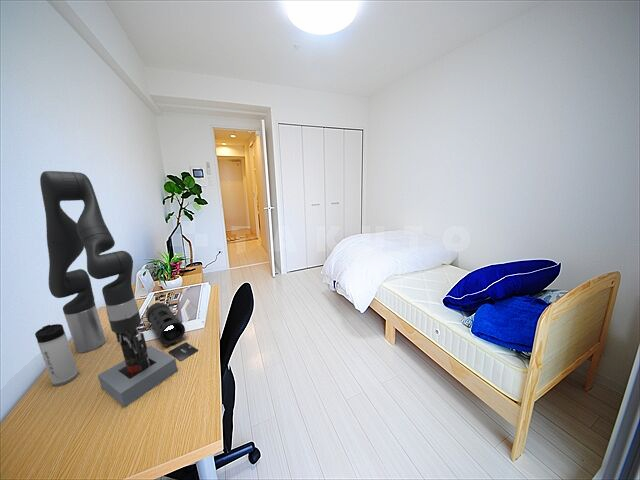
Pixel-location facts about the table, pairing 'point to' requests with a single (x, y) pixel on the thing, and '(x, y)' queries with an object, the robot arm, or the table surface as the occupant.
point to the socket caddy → (137, 377)
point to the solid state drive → (183, 351)
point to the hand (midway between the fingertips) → (135, 357)
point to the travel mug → (57, 354)
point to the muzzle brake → (165, 323)
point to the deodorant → (133, 360)
